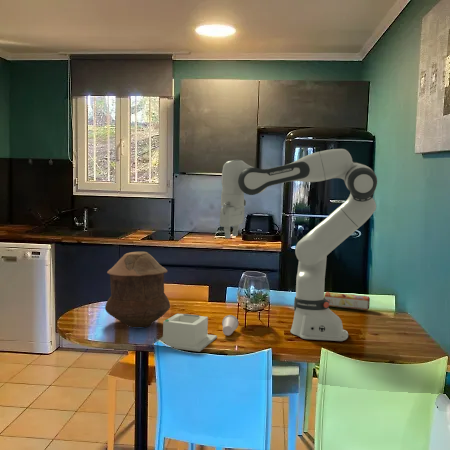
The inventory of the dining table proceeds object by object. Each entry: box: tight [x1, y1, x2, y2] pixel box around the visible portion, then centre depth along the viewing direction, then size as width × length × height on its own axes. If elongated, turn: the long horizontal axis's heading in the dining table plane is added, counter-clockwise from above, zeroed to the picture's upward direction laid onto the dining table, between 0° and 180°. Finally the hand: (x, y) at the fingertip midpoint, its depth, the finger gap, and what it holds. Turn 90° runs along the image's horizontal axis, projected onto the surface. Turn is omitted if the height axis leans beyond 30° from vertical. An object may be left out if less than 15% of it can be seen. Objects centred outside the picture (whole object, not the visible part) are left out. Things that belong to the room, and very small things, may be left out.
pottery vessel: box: [104, 251, 171, 328], centre depth 208 cm, size 26×26×30 cm
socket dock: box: [151, 313, 218, 352], centre depth 191 cm, size 18×18×9 cm
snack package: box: [324, 291, 371, 311], centre depth 251 cm, size 21×7×7 cm
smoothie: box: [221, 314, 239, 336], centre depth 204 cm, size 6×6×14 cm
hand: (231, 236), depth 205 cm, fingers open, 8 cm apart
